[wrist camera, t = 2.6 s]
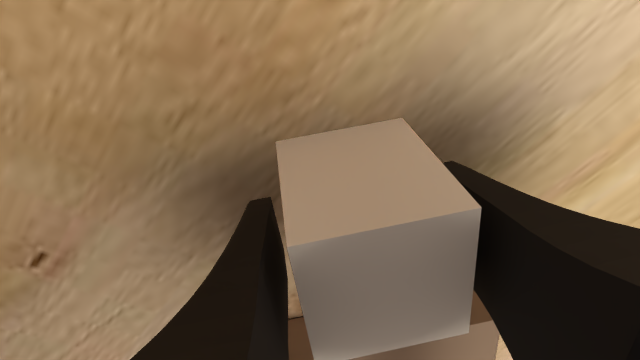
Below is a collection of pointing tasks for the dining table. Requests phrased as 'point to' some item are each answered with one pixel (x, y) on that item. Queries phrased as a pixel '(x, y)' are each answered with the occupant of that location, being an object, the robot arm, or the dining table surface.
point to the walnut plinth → (435, 356)
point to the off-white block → (376, 239)
